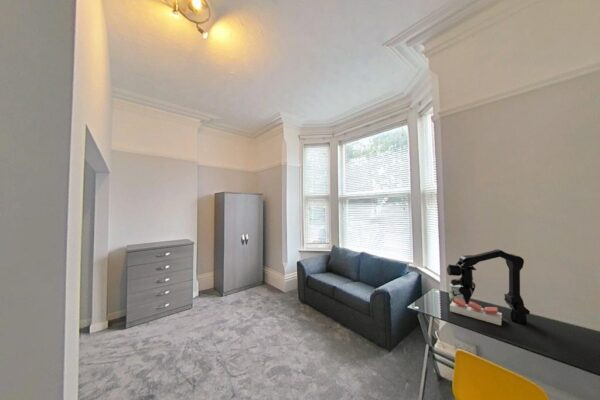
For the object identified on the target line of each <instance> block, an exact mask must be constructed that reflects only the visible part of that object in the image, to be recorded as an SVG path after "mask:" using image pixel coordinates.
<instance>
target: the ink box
mask: <svg viewBox="0 0 600 400" xmlns="http://www.w3.org/2000/svg"><path fill="white" fill-rule="evenodd" d="M460 287H461V286H460V285H455V286H453V285H452V284H451V283H449V284H448V297H449V299H448V300H449V301H450V302H451V303H452V301H453V300H454V299H455V297H456V298H458V299H460V300H462V301H464V302H465V300H464V297H463V295H462V294H461V293H460V292H459V288H460ZM462 287H463V286H462Z"/></svg>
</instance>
